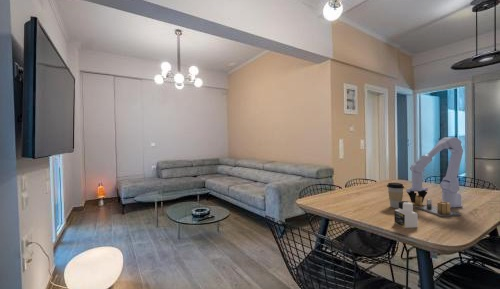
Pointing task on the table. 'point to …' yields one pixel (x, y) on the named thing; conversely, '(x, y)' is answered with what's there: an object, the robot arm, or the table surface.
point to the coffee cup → (395, 194)
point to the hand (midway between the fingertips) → (417, 202)
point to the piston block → (438, 209)
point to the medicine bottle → (406, 215)
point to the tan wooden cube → (418, 200)
